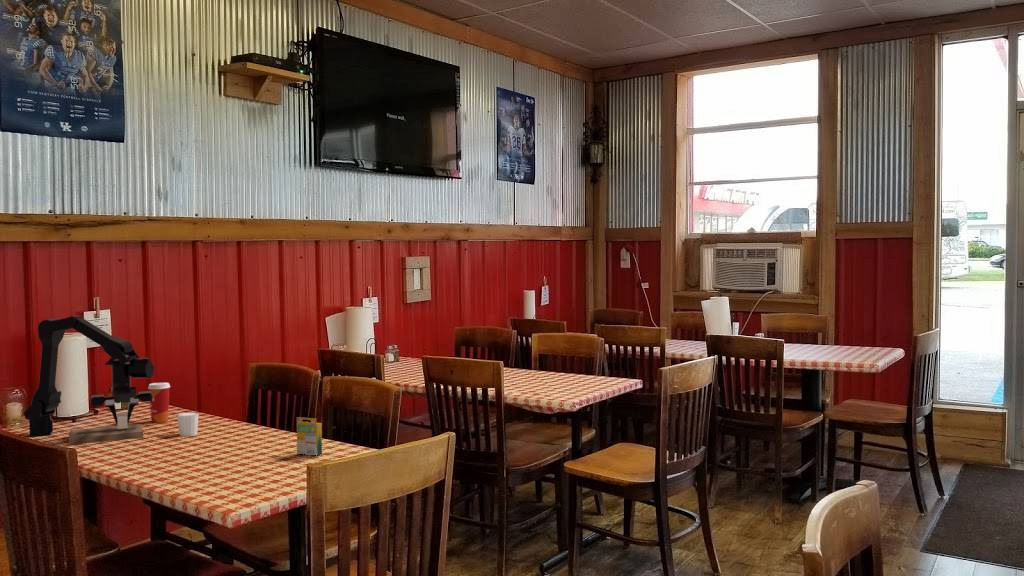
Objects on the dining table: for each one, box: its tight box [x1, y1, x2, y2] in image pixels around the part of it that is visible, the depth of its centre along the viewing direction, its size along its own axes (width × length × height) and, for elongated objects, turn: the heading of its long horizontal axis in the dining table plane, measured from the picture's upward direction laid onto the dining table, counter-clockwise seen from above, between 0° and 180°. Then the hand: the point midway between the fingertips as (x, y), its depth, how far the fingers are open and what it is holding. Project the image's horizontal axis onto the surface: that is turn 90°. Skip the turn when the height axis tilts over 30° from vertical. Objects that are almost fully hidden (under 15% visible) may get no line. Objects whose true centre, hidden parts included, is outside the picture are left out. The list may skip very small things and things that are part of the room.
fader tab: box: [116, 412, 129, 430], centre depth 278 cm, size 3×6×5 cm, turn 27°
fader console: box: [68, 423, 144, 445], centre depth 276 cm, size 22×14×2 cm, turn 117°
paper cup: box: [147, 382, 171, 424], centre depth 301 cm, size 8×8×14 cm
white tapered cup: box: [176, 412, 200, 437], centre depth 279 cm, size 7×7×7 cm
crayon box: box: [296, 416, 323, 457], centre depth 250 cm, size 7×3×12 cm, turn 70°
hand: (122, 423), depth 278 cm, fingers closed on fader tab, 3 cm apart
